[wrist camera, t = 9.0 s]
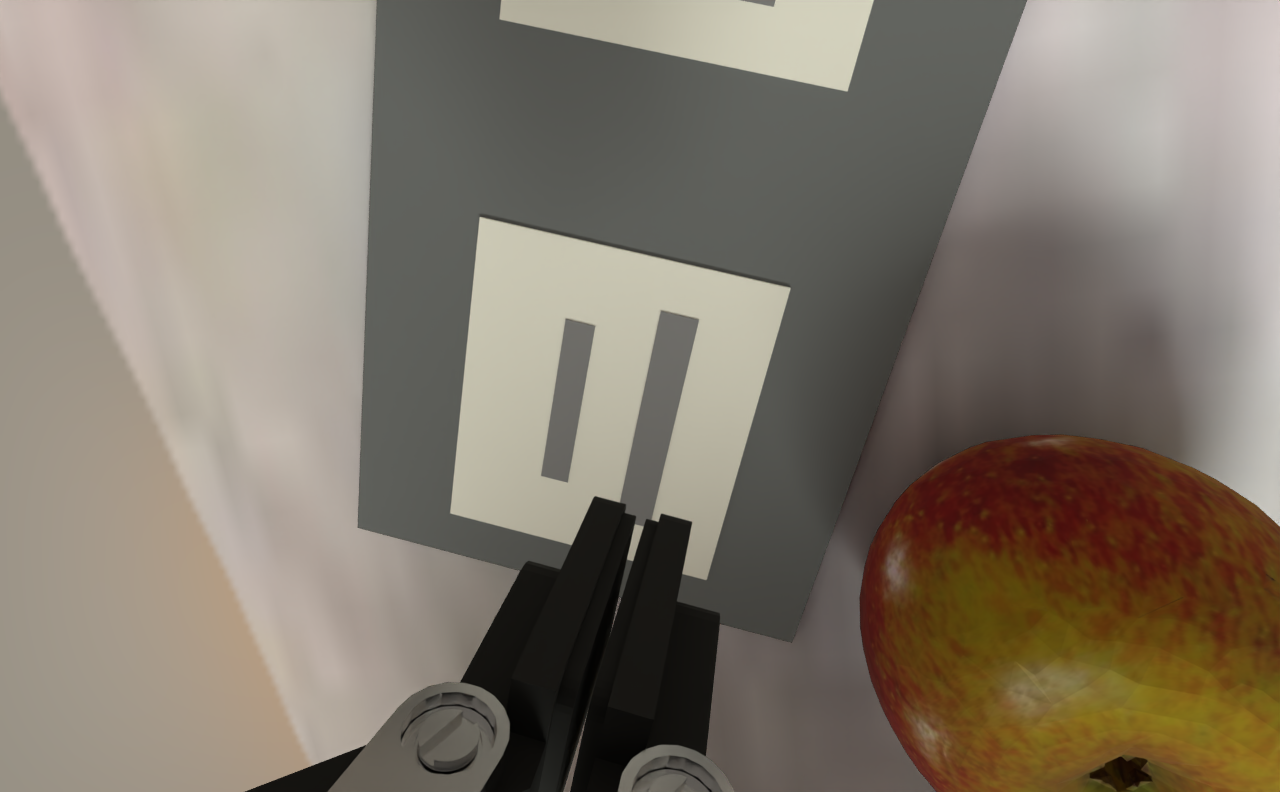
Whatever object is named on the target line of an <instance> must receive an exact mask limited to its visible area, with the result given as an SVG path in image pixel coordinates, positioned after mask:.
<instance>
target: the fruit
mask: <svg viewBox="0 0 1280 792" xmlns="http://www.w3.org/2000/svg"><path fill="white" fill-rule="evenodd" d="M860 629H861V636H862V643H863V650H864V654H865V658H866V662H867V666H868V670H869V674H870V678H871V682H872V684H873V687H874V689H875V692H876V694H877V697H878V699H879V702H880V704H881V707H882V709H883V711H884V713H885V715H886V717H887V719H888V721H889V723H890V725H891V727H892V729H893V730H894V732H895V734H896V736H897V737H898V739H899V741H900V743H901V744H902V746H903V748H904V749H905V751H906V753H907V754H908V756H909V757H910V759H911V760H912V762H913V763H914V764H915V766H916V767H917V769H918V770H919V772H920V773H921V774H922V775H923V776H924V777H925V779H926V780H927V781H928V782H929V783H930V785H931V786H932V787H933V788H934V789H935V790H936V792H1280V526H1278V525H1277V524H1276V523H1275V522H1274V521H1273V520H1272V519H1271V518H1270V517H1269V516H1267V515H1266V514H1265V513H1264V512H1263V511H1262V510H1261V509H1260V508H1259V507H1258V506H1257V505H1255V504H1254V503H1252V502H1251V501H1249V500H1247V499H1246V498H1244V497H1243V496H1241V495H1240V494H1238V493H1237V492H1235V491H1234V490H1232V489H1230V488H1229V487H1227V486H1225V485H1224V484H1222V483H1221V482H1219V481H1217V480H1216V479H1214V478H1212V477H1210V476H1208V475H1206V474H1204V473H1202V472H1200V471H1198V470H1196V469H1195V468H1192V467H1189V466H1187V465H1184V464H1182V463H1179V462H1177V461H1174V460H1172V459H1169V458H1167V457H1164V456H1161V455H1159V454H1156V453H1154V452H1151V451H1149V450H1146V449H1144V448H1140V447H1135V446H1130V445H1126V444H1121V443H1116V442H1111V441H1107V440H1102V439H1095V438H1087V437H1079V436H1070V435H1031V436H1024V437H1017V438H1010V439H1003V440H997V441H990V442H985V443H982V444H979V445H976V446H973V447H970V448H968V449H966V450H964V451H962V452H960V453H958V454H956V455H954V456H952V457H950V458H948V459H946V460H944V461H942V462H940V463H938V464H936V465H935V466H934V467H933V468H931V469H930V470H929V471H928V472H926V473H925V474H924V475H922V476H921V477H920V478H919V479H917V480H916V481H915V482H913V483H912V484H911V485H910V486H909V487H908V488H907V489H906V491H905V492H904V493H903V494H902V495H901V496H900V497H899V498H898V499H897V500H896V502H895V503H894V505H893V507H892V508H891V510H890V511H889V513H888V514H887V516H886V518H885V519H884V521H883V522H882V524H881V525H880V527H879V529H878V530H877V533H876V535H875V537H874V539H873V542H872V544H871V546H870V549H869V553H868V556H867V560H866V563H865V567H864V573H863V579H862V586H861V592H860Z"/></svg>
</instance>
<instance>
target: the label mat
mask: <svg viewBox="0 0 1280 792" xmlns="http://www.w3.org/2000/svg"><path fill="white" fill-rule="evenodd" d="M1026 2H1027V0H377V15H376V43H375V70H374V97H373V124H372V152H371V179H370V206H369V233H368V261H367V288H366V315H365V343H364V370H363V397H362V424H361V452H360V479H359V506H358V528H361V529H365V530H368V531H372V532H376V533H380V534H383V535H387V536H391V537H395V538H399V539H402V540H406V541H410V542H414V543H417V544H421V545H425V546H429V547H432V548H436V549H440V550H444V551H448V552H451V553H455V554H459V555H463V556H466V557H470V558H474V559H478V560H482V561H485V562H489V563H493V564H497V565H500V566H504V567H508V568H512V569H516V570H519V571H521V569H522V567H523V566H524V564H525V563H526V562H527V561H532V562H536V563H539V564H543V565H547V566H550V567H554V568H557V569H561V568H562V566H563V563H564V561H565V559H566V557H567V555H568V552H569V550H570V548H571V546H572V544H573V541H574V539H575V537H576V535H577V533H578V531H579V528H580V526H581V524H582V522H583V520H584V517H585V515H586V513H587V511H588V509H589V506H590V504H591V502H592V500H593V498H594V497H595V496H597V497H601V498H605V499H608V500H612V501H616V502H620V503H624V504H626V510H625V513H627V514H631V515H635V516H636V521H635V526H634V530H633V535H632V539H631V544H630V548H629V552H628V557H627V561H626V566H625V570H624V575H623V579H622V584H621V588H620V593H619V597H621V598H622V595H623V592H624V589H625V586H626V582H627V579H628V576H629V573H630V569H631V566H632V563H633V560H634V556H635V553H636V550H637V547H638V543H639V540H640V537H641V534H642V530H643V527H644V524H645V521H646V519H650V520H654V521H657V522H659V518H660V515H661V513H662V514H665V515H669V516H673V517H677V518H681V519H684V520H688V521H692V527H691V532H690V537H689V542H688V547H687V552H686V557H685V563H684V568H683V573H682V578H681V583H680V588H679V593H678V598H677V601H678V602H681V603H685V604H689V605H692V606H696V607H700V608H703V609H707V610H711V611H714V612H718V613H720V624H723V625H727V626H731V627H734V628H738V629H742V630H746V631H750V632H753V633H757V634H761V635H765V636H768V637H772V638H776V639H780V640H783V641H787V642H791V643H792V641H793V638H794V636H795V633H796V630H797V628H798V625H799V622H800V619H801V617H802V614H803V611H804V608H805V606H806V603H807V600H808V597H809V595H810V592H811V589H812V587H813V584H814V581H815V578H816V576H817V573H818V570H819V567H820V565H821V562H822V559H823V557H824V554H825V551H826V548H827V546H828V543H829V540H830V537H831V535H832V532H833V529H834V526H835V524H836V521H837V518H838V516H839V513H840V510H841V507H842V505H843V502H844V499H845V496H846V494H847V491H848V488H849V485H850V483H851V480H852V477H853V475H854V472H855V469H856V466H857V464H858V461H859V458H860V455H861V453H862V450H863V447H864V444H865V442H866V439H867V436H868V434H869V431H870V428H871V425H872V423H873V420H874V417H875V414H876V412H877V409H878V406H879V404H880V401H881V398H882V395H883V393H884V390H885V387H886V384H887V382H888V379H889V376H890V373H891V371H892V368H893V365H894V363H895V360H896V357H897V354H898V352H899V349H900V346H901V343H902V341H903V338H904V335H905V332H906V330H907V327H908V324H909V322H910V319H911V316H912V313H913V311H914V308H915V305H916V302H917V300H918V297H919V294H920V292H921V289H922V286H923V283H924V281H925V278H926V275H927V272H928V270H929V267H930V264H931V261H932V259H933V256H934V253H935V251H936V248H937V245H938V242H939V240H940V237H941V234H942V231H943V229H944V226H945V223H946V220H947V218H948V215H949V212H950V210H951V207H952V204H953V201H954V199H955V196H956V193H957V190H958V188H959V185H960V182H961V179H962V177H963V174H964V171H965V169H966V166H967V163H968V160H969V158H970V155H971V152H972V149H973V147H974V144H975V141H976V139H977V136H978V133H979V130H980V128H981V125H982V122H983V119H984V117H985V114H986V111H987V108H988V106H989V103H990V100H991V98H992V95H993V92H994V89H995V87H996V84H997V81H998V78H999V76H1000V73H1001V70H1002V67H1003V65H1004V62H1005V59H1006V57H1007V54H1008V51H1009V48H1010V46H1011V43H1012V40H1013V37H1014V35H1015V32H1016V29H1017V26H1018V24H1019V21H1020V18H1021V16H1022V13H1023V10H1024V7H1025V5H1026Z"/></svg>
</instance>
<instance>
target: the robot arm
mask: <svg viewBox="0 0 1280 792" xmlns="http://www.w3.org/2000/svg"><path fill="white" fill-rule="evenodd" d="M625 510H626V504H624V503H620V502H616V501H612V500H608V499H605V498H601V497H597V496H595V497H594V498H593V500H592V502H591V504H590V506H589V509H588V511H587V513H586V515H585V517H584V520H583V522H582V524H581V526H580V528H579V531H578V533H577V535H576V537H575V539H574V541H573V544H572V546H571V548H570V550H569V552H568V555H567V557H566V559H565V561H564V563H563V566H562V568H561V569H557V568H554V567H550V566H547V565H543V564H539V563H536V562H532V561H527V562H526V563H525V564H524V566H523V567H522V569H521V571H520V573H519V575H518V576H517V578H516V580H515V582H514V584H513V586H512V588H511V589H510V591H509V593H508V595H507V597H506V599H505V600H504V602H503V604H502V606H501V608H500V610H499V612H498V613H497V615H496V617H495V619H494V621H493V623H492V625H491V626H490V628H489V630H488V632H487V634H486V636H485V637H484V639H483V641H482V643H481V645H480V647H479V649H478V650H477V652H476V654H475V656H474V658H473V660H472V662H471V663H470V665H469V667H468V669H467V671H466V673H465V674H464V676H463V678H462V680H461V682H460V683H451V682H446V683H442V684H438V685H433V686H429V687H427V688H425V689H423V690H421V691H419V692H417V693H415V694H413V695H412V696H410V697H409V698H408V699H407V700H406V701H405V702H404V703H403V704H402V705H400V706H399V707H398V708H397V710H396V711H395V712H394V713H393V714H392V716H391V717H390V718H389V719H388V720H387V722H386V723H385V724H384V725H383V726H382V727H381V729H380V730H379V731H378V732H377V733H376V735H375V736H374V737H373V738H372V739H371V741H370V742H369V743H368V744H367V745H365V746H363V747H360V748H357V749H355V750H352V751H350V752H347V753H344V754H342V755H339V756H337V757H334V758H331V759H329V760H326V761H324V762H321V763H318V764H316V765H313V766H311V767H308V768H305V769H303V770H300V771H298V772H295V773H293V774H290V775H287V776H285V777H282V778H279V779H277V780H274V781H271V782H269V783H266V784H264V785H261V786H259V787H256V788H253V789H251V790H248V791H245V792H563V790H564V787H565V784H566V781H567V777H568V774H569V771H570V768H571V764H572V761H573V758H574V755H575V751H576V748H577V745H578V741H579V738H580V735H581V732H582V728H583V725H584V722H585V719H586V722H585V727H584V731H583V736H582V740H581V745H580V749H579V754H578V759H577V763H576V768H575V772H574V777H573V782H572V786H571V791H570V792H735V791H734V789H733V787H732V786H731V784H730V782H729V780H728V779H727V777H726V775H725V774H724V773H723V772H722V771H721V770H720V769H719V768H718V766H717V765H716V764H715V763H714V762H713V761H712V760H710V759H709V758H707V757H706V749H707V739H708V730H709V720H710V711H711V701H712V692H713V682H714V673H715V663H716V654H717V644H718V635H719V625H720V613H718V612H714V611H711V610H707V609H703V608H700V607H696V606H692V605H689V604H685V603H681V602H678V601H677V598H678V593H679V588H680V583H681V578H682V573H683V568H684V563H685V557H686V552H687V547H688V542H689V537H690V532H691V527H692V521H688V520H684V519H681V518H677V517H673V516H669V515H665V514H662V513H661V515H660V518H659V522H657V521H654V520H650V519H646V521H645V524H644V527H643V530H642V534H641V537H640V540H639V543H638V547H637V550H636V553H635V556H634V560H633V563H632V566H631V569H630V573H629V576H628V579H627V582H626V586H625V589H624V592H623V595H622V599H621V602H620V605H619V608H618V612H617V615H616V618H615V621H614V625H613V628H612V624H613V620H614V615H615V611H616V606H617V602H618V597H619V593H620V588H621V584H622V579H623V575H624V570H625V566H626V561H627V557H628V552H629V548H630V544H631V539H632V535H633V530H634V526H635V521H636V516H635V515H631V514H627V513H625ZM611 629H612V631H611ZM610 633H611V634H610ZM587 712H588V713H587ZM586 715H587V717H586Z"/></svg>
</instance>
